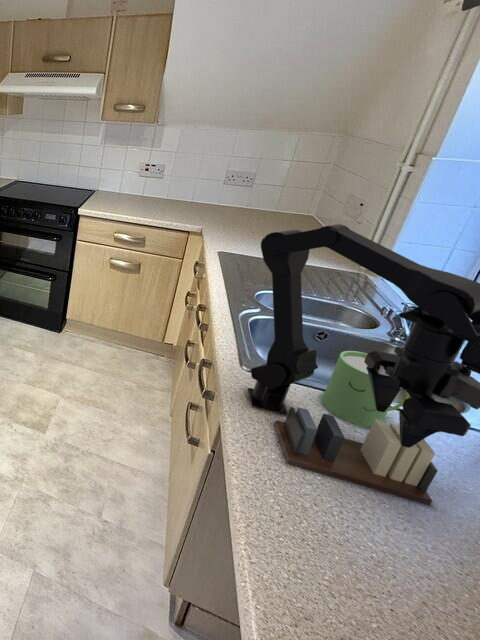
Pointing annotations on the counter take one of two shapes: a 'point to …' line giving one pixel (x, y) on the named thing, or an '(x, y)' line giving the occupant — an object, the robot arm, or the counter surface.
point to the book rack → (346, 463)
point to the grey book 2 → (329, 437)
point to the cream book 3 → (419, 463)
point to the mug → (353, 391)
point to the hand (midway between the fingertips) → (391, 427)
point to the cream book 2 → (401, 457)
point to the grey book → (306, 429)
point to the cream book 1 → (380, 447)
